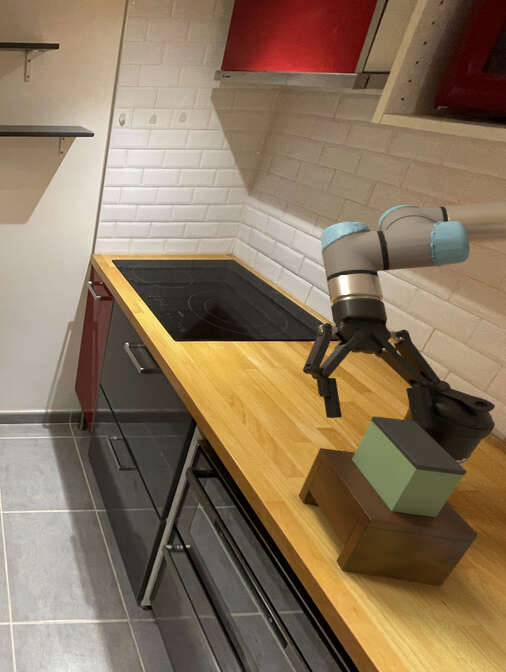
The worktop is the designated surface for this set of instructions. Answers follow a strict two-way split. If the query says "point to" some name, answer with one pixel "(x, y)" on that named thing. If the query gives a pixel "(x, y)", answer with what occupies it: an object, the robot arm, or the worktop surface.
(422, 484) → the box
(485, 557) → the worktop surface
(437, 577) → the walnut shelf
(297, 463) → the worktop surface
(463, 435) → the water bottle
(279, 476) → the worktop surface
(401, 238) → the robot arm
